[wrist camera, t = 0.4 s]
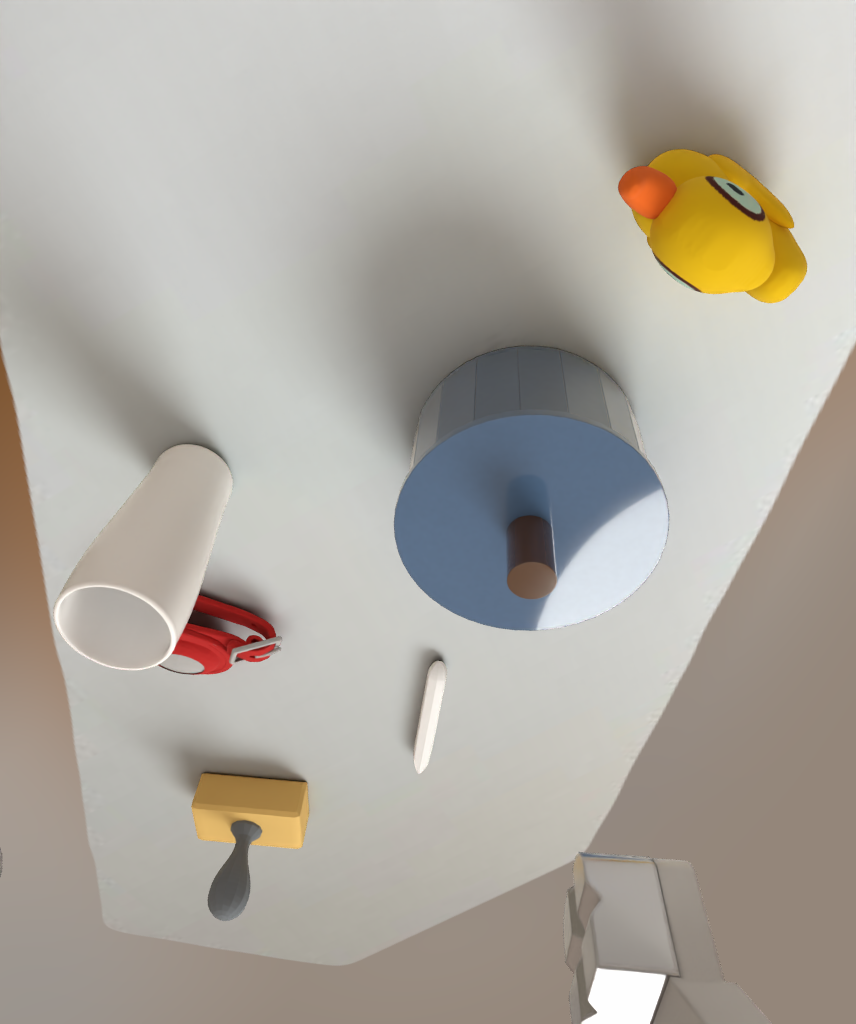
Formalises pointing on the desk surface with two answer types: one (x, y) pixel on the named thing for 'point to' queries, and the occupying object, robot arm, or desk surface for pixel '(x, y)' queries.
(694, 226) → the duckling
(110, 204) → the desk surface
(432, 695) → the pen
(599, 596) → the lid
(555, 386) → the pot
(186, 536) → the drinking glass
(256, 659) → the tracker holder
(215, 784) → the rubber stamp
